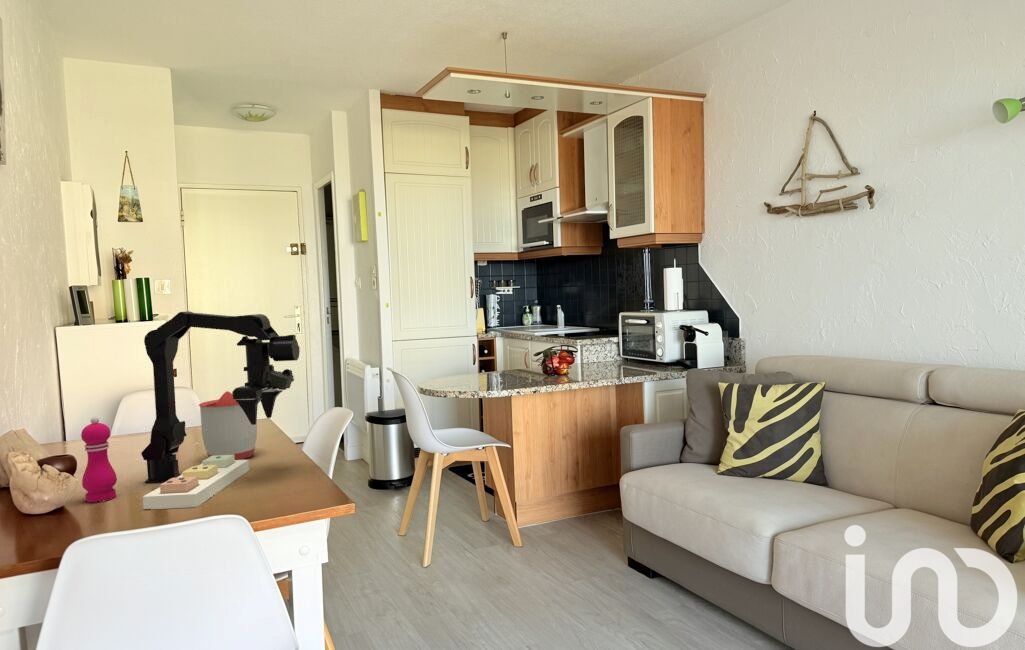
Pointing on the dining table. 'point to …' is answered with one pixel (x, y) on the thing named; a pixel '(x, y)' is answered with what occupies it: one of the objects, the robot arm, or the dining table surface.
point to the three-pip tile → (179, 485)
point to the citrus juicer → (227, 428)
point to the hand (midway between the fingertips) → (261, 421)
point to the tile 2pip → (201, 472)
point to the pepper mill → (98, 463)
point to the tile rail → (197, 489)
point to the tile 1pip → (219, 461)
